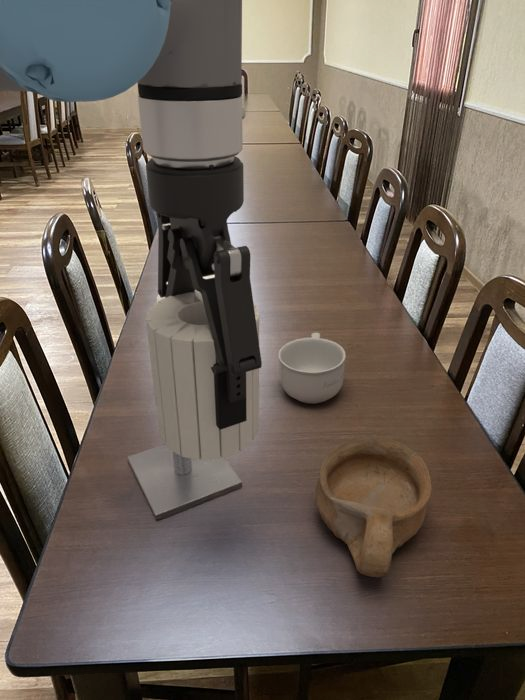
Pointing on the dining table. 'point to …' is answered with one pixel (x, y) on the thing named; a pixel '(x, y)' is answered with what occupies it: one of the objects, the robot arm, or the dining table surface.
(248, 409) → the paper towel roll
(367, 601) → the dining table surface
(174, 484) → the towel stand
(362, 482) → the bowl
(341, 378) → the teacup
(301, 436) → the dining table surface
